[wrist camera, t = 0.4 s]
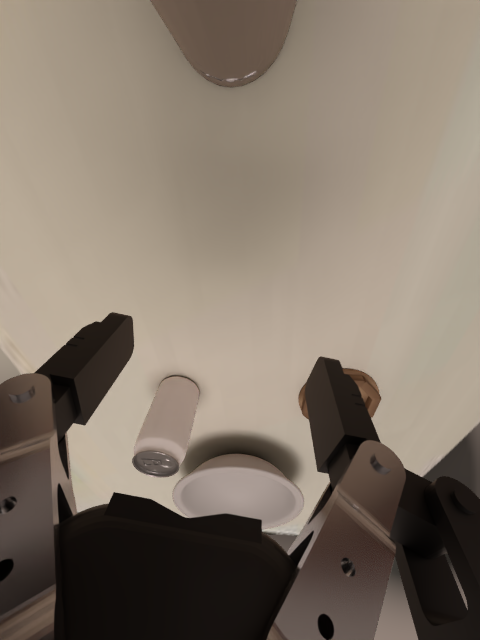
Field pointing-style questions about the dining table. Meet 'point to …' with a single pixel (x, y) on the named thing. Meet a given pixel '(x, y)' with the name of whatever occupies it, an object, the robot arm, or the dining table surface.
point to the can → (167, 428)
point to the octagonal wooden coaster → (365, 387)
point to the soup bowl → (239, 490)
